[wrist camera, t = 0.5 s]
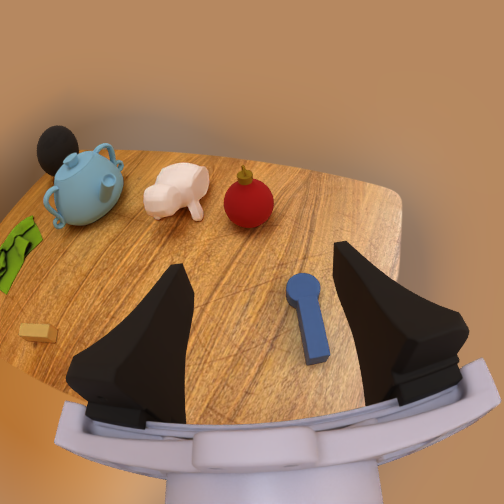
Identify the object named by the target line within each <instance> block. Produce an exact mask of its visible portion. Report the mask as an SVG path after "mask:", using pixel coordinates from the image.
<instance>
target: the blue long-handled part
mask: <svg viewBox="0 0 504 504" xmlns="http://www.w3.org/2000/svg"><path fill="white" fill-rule="evenodd" d="M319 293H320V284H319V282H318V280H317V279H316V278H315V277H314V276H312V275H310V274H307V273H299V274H296V275H294V276H292V277H291V278H290V279H289V281H288V282H287V286H286V298H287V301H288V303H289V304H290V305H291V306H292V307H294V308H296V311H297V316H298V321H299V327H300V332H301V337H302V343H303V348H304V354H305V359H306V365H312V364H317V363H322V362H326V361H327V359H328V357H329V356H330V350H329V346H328V341H327V337H326V332H325V328H324V323H323V319H322V315H321V310H320V306H319V302H318V297H319Z"/></svg>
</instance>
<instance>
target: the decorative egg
mask: <svg viewBox="0 0 504 504" xmlns="http://www.w3.org/2000/svg"><path fill="white" fill-rule="evenodd" d="M72 153H77V155H78V154H79V148H78V143H77V140H76V138H75V136H74V134H73V133H72V132H71V131H70V130H69V129H67V128H66V127H63V126H52V127H50V128H48V129H47V130H46V131H45V132H44V133H43V134H42V135H41V137H40V139H39V141H38V145H37V157H38V161H39V163H40V165H41V167H42V169H43V170H44V171H45V172H46V173H48V174H49V175H51V176H54V177H55V175H56V173H57V171H58V170H59V169H60V167H61V166H62V165H63V164H64V163H63V161H64V159H65V158H66V157H67V156H69V155H70V154H72Z"/></svg>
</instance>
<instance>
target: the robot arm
mask: <svg viewBox="0 0 504 504" xmlns="http://www.w3.org/2000/svg"><path fill="white" fill-rule="evenodd" d="M333 279H334V283H335V287H336V291H337V294H338V297H339V300H340V302H341V305H342V307H343V310H344V313H345V315H346V318H347V320H348V323H349V326H350V328H351V331H352V334H353V338H354V342H355V346H356V350H357V355H358V360H359V365H360V370H361V376H362V382H363V389H364V397H365V407H361V408H357V409H353V410H348V411H344V412H339V413H334V414H329V415H323V416H317V417H311V418H304V419H297V420H289V421H280V422H270V423H257V424H237V425H194V424H186V413H185V358H186V350H187V344H188V339H189V333H190V328H191V323H192V317H193V311H194V291H193V289H192V286H191V284H190V281H189V279H188V276H187V274H186V271H185V269H184V266H183V263H181V264H173V265H170V266H169V268H168V269H167V270H166V271H165V272H164V274H163V275H162V276H161V278H160V279H159V280H158V281H157V283H156V284H155V285H154V286H153V288H152V289H151V290H150V291H149V293H148V294H147V295H146V296H145V297H144V298H143V300H142V301H141V302H140V303H139V304H138V305H137V307H136V308H135V309H134V310H133V311H132V312H131V313H130V314H129V315H128V316H127V317H126V318H125V319H124V320H123V321H122V322H121V323H120V324H119V325H117V326H116V327H115V328H114V329H113V330H111V331H110V332H109V333H108V334H107V335H105V336H104V337H103V338H101V339H100V340H99V341H97V342H96V343H94V344H93V345H92V346H90V347H89V348H87V349H85V350H84V351H82V352H80V353H79V354H77V355H75V356H73V359H72V362H71V364H70V367H69V370H68V372H67V375H66V382H67V383H68V385H69V386H70V387H71V388H72V389H73V390H74V391H76V392H77V393H78V394H79V395H81V396H82V397H83V398H84V399H86V400H87V401H88V405H87V407H86V406H84V405H82V404H78V403H74V402H70V401H65V403H64V406H63V410H62V414H61V417H60V421H59V425H58V428H57V432H56V436H55V441H54V443H55V444H56V445H58V446H60V447H62V448H64V449H66V450H68V451H70V452H72V453H74V454H77V455H78V456H81V457H83V458H85V459H88V460H91V461H94V462H97V463H100V464H103V465H107V466H110V467H113V468H117V469H120V470H124V471H128V472H132V473H136V474H141V475H145V476H149V477H154V478H159V479H165V480H167V481H166V498H165V504H383V498H382V491H381V485H380V479H379V473H378V467H377V466H379V465H382V464H385V463H387V462H391V461H394V460H396V459H399V458H402V457H404V456H407V455H410V454H412V453H414V452H417V451H419V450H422V449H424V448H426V447H428V446H431V445H433V444H435V443H437V442H439V441H441V440H443V439H445V438H447V437H449V436H451V435H453V434H455V433H457V432H459V431H461V430H463V429H465V428H466V427H468V426H470V425H472V424H473V423H475V422H476V421H478V420H479V419H481V418H482V417H483V416H484V415H486V414H487V413H489V412H490V411H491V410H492V409H494V408H495V407H496V406H497V405H498V404H500V403H501V399H500V396H499V393H498V391H497V388H496V386H495V383H494V381H493V379H492V377H491V375H490V372H489V370H488V367H487V365H486V363H485V361H484V359H483V358H479V359H477V360H475V361H473V362H471V363H469V364H467V365H465V366H463V367H462V368H460V369H459V367H458V365H457V364H458V363H459V358H458V356H457V353H458V352H459V350H460V349H461V347H462V346H463V344H464V343H465V341H466V340H467V338H468V335H469V329H468V327H467V325H466V323H465V322H464V320H463V318H462V316H461V315H460V313H459V312H456V311H453V310H450V309H448V308H445V307H442V306H439V305H437V304H435V303H433V302H430V301H428V300H426V299H424V298H422V297H420V296H418V295H417V294H415V293H413V292H411V291H409V290H408V289H406V288H404V287H403V286H401V285H400V284H398V283H397V282H395V281H394V280H392V279H391V278H389V277H388V276H387V275H385V274H384V273H383V272H382V271H380V270H379V269H378V268H376V267H375V266H374V265H373V264H372V263H371V262H369V261H368V260H367V259H366V258H365V257H364V256H362V255H361V254H360V253H359V252H358V251H357V250H356V249H355V248H354V247H352V246H351V245H350V244H349V243H348V242H347V241H342V242H335V243H334V255H333Z"/></svg>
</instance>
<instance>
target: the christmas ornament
mask: <svg viewBox="0 0 504 504" xmlns="http://www.w3.org/2000/svg"><path fill="white" fill-rule="evenodd" d="M241 167H242V171H240V172H238V174H237V178H238V181H237V182H235V183H234V184H232V185H231V186H230V187H229V189H228V190H227V192H226V194H225V197H224V209H225V212H226V214H227V216H228V218H229V219H230V220H231V221H232V222H233V223H235V224H236V225H238V226H241V227H245V228H253V227H257V226H259V225H261V224H263V223H264V222H265V221H266V220H267V219H268V218H269V217H270V215H271V213H272V211H273V206H274V200H273V195H272V193H271V191H270V189H269V188H268V187H267V186H266V185H265V184H264V183H263V182H261V181H259V180H256V179H253V173H252V172H251V171H250V170H246V169H245V166H244V165H242V166H241Z"/></svg>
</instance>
